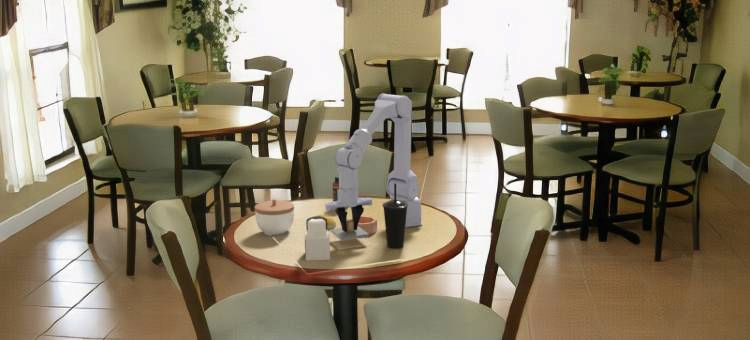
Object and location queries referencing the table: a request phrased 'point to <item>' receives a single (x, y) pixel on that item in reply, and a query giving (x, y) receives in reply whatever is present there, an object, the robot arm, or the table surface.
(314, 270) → the table surface
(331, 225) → the bread roll
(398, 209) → the drinking cup
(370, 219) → the bowl
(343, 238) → the lid
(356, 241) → the mat
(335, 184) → the supplement bottle
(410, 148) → the robot arm
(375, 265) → the table surface
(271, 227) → the lidded bowl
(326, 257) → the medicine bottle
